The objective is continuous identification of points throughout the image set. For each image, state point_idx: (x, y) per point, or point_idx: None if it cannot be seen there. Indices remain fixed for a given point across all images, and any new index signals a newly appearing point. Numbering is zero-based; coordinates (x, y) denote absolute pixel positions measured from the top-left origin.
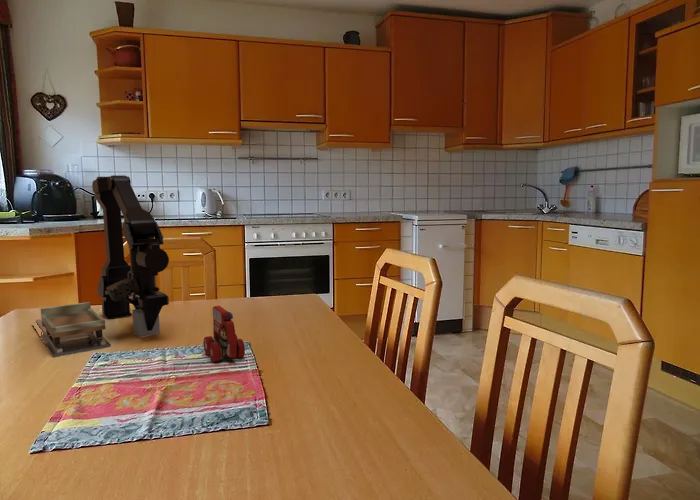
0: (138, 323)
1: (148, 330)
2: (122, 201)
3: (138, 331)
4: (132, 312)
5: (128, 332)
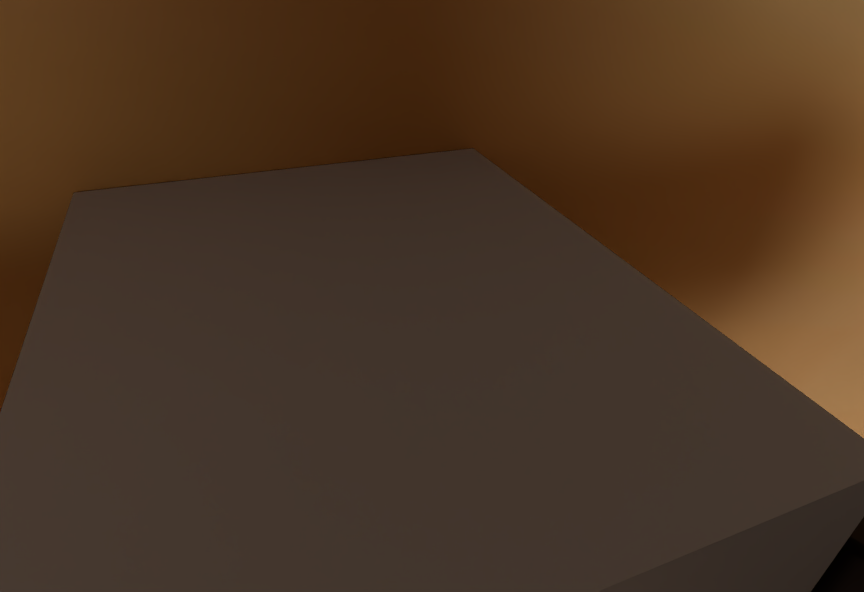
0: (47, 381)
1: None
2: None
3: (130, 234)
4: (802, 395)
5: (566, 75)
